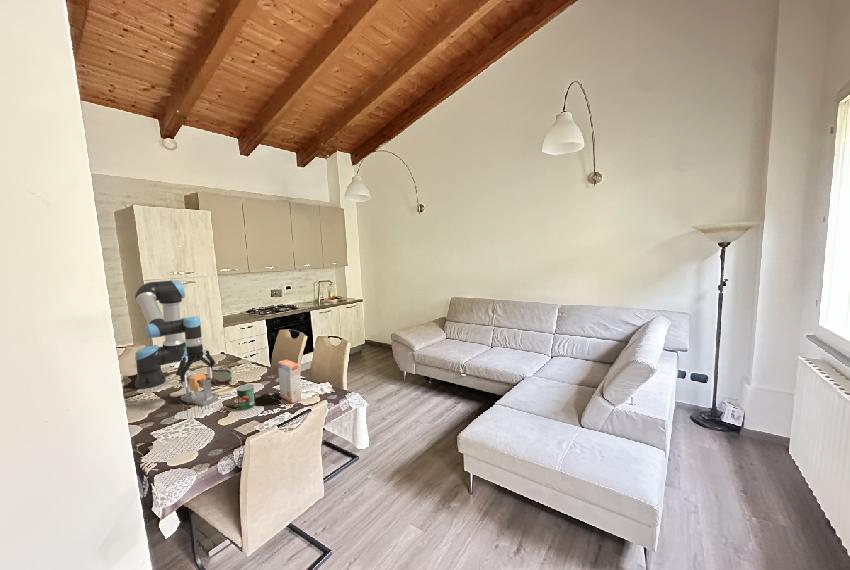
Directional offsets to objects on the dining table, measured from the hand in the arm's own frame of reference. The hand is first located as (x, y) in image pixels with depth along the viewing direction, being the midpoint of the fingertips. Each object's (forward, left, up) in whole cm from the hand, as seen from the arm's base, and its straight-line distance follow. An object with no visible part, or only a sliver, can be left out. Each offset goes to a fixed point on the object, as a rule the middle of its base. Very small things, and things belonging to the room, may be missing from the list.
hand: (198, 382), depth 191 cm
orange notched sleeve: (0, 0, -4) cm, 4 cm away
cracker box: (+46, +22, -11) cm, 52 cm away
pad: (+2, +13, -11) cm, 17 cm away
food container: (-9, +22, -11) cm, 26 cm away
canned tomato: (+32, +5, -11) cm, 34 cm away
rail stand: (0, 0, -11) cm, 11 cm away
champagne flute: (-70, +28, -11) cm, 76 cm away
